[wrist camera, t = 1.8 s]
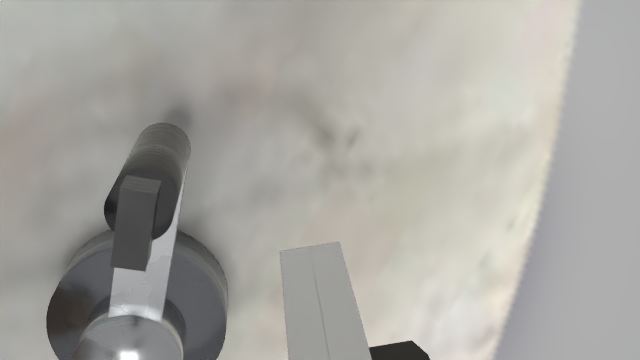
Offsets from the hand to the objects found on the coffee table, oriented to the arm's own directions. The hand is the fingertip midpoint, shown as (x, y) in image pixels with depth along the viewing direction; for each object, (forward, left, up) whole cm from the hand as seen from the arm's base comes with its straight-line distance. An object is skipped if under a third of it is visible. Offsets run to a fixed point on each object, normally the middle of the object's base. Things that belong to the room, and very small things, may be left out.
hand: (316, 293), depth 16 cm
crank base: (-5, -12, -17) cm, 21 cm away
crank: (-5, -8, -14) cm, 17 cm away
